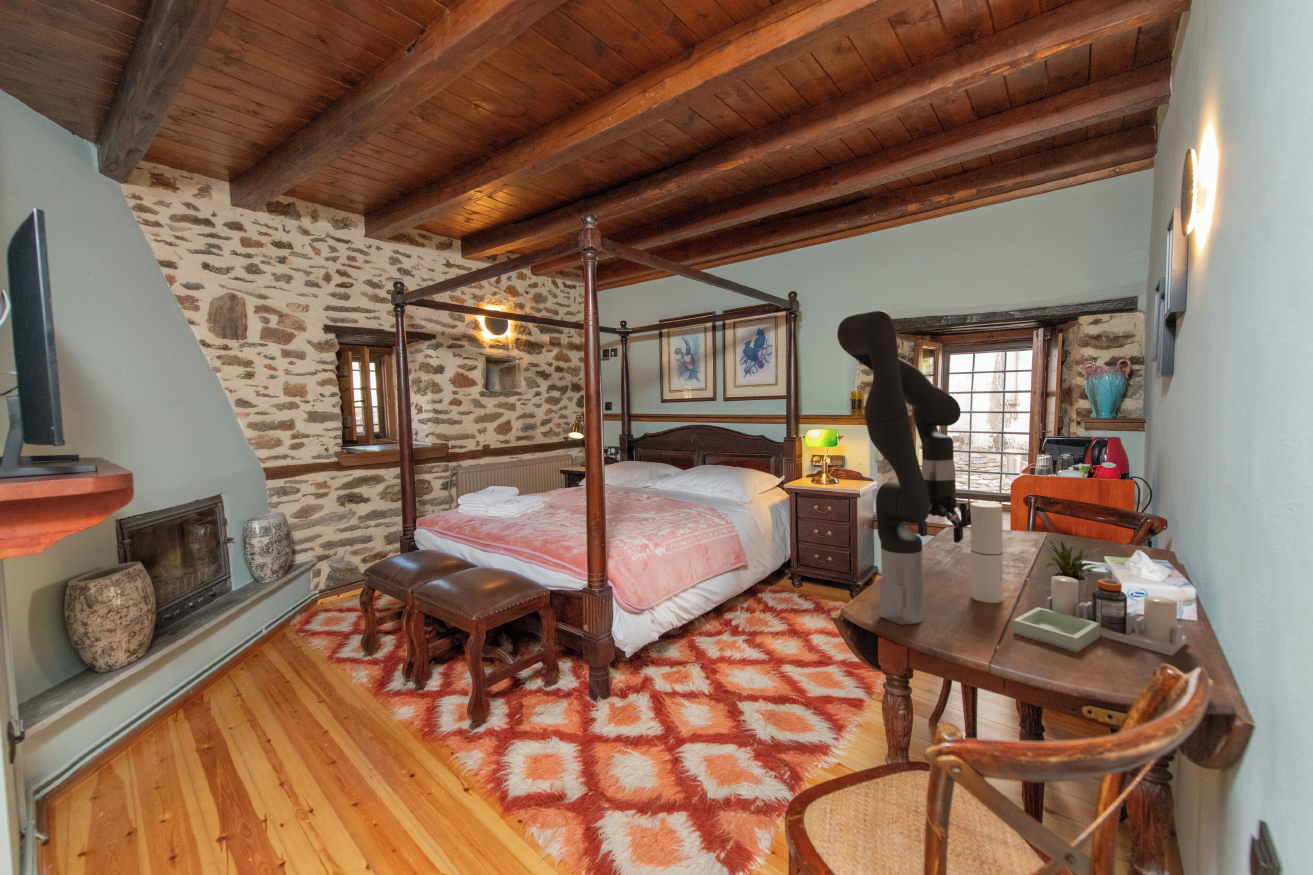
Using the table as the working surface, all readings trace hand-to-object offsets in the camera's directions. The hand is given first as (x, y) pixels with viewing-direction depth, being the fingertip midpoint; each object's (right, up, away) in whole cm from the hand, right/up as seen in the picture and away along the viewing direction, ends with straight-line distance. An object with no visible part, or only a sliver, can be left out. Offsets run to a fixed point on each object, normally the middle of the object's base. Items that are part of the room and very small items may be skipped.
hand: (940, 538), depth 137 cm
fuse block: (+29, -17, -17) cm, 38 cm away
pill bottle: (+29, -18, -17) cm, 38 cm away
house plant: (+33, -16, +2) cm, 37 cm away
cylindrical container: (+15, -17, +5) cm, 23 cm away
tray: (+16, -18, -18) cm, 30 cm away
